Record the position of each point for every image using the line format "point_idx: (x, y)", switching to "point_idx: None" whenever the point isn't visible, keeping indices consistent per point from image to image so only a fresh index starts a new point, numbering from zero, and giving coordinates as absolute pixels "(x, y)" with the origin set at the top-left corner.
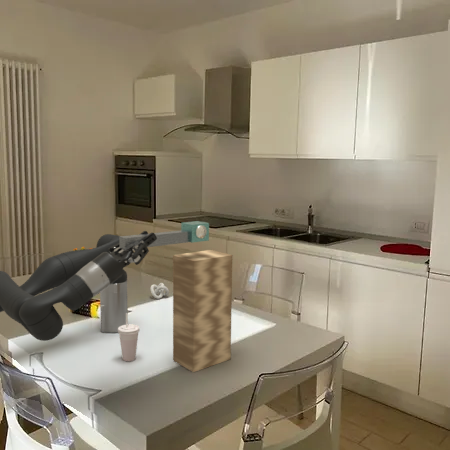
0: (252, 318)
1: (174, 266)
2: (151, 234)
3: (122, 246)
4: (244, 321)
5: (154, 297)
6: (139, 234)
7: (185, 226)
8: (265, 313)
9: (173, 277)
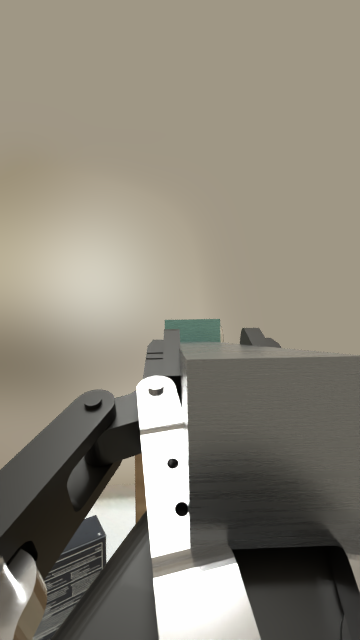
0: (110, 505)
1: (142, 473)
2: (261, 336)
3: (288, 504)
4: (108, 518)
5: None
6: (165, 350)
7: (187, 329)
8: (113, 487)
9: (137, 515)
